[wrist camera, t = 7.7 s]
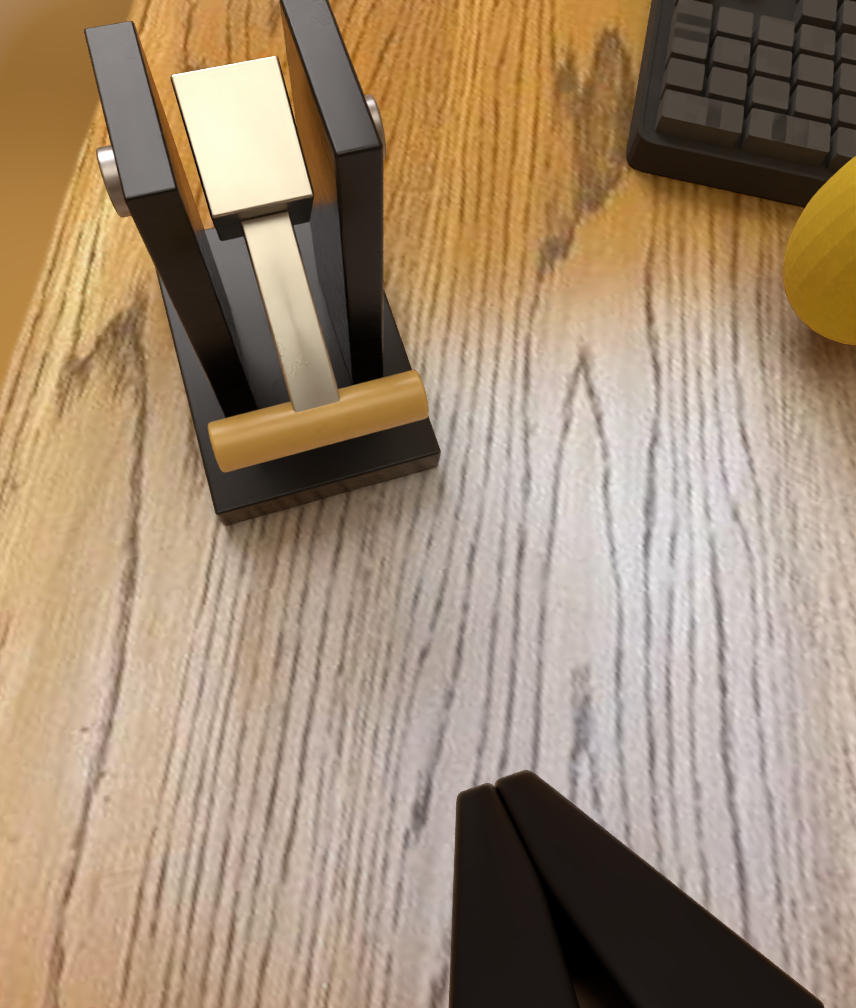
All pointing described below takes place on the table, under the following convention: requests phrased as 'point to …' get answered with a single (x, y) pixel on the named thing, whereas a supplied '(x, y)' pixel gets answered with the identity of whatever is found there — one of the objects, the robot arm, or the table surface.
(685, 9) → the keyboard
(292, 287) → the lever
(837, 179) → the lemon
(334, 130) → the black upright frame
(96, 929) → the table surface
